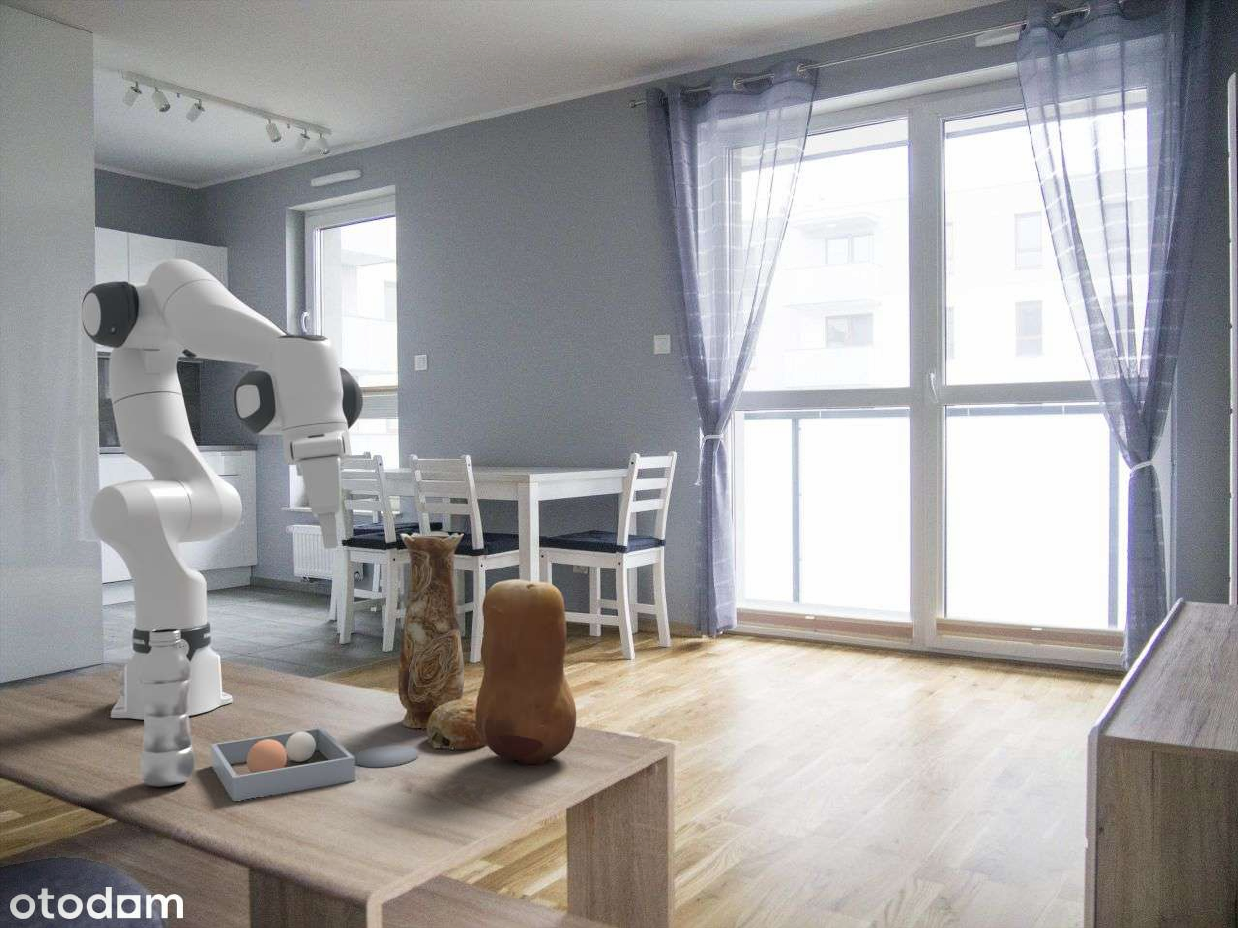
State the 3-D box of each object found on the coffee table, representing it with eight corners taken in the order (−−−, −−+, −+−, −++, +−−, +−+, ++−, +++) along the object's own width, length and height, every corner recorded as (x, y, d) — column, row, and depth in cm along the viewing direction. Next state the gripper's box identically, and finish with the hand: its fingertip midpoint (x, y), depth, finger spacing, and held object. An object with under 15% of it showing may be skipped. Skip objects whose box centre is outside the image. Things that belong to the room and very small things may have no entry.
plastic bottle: (160, 796, 124) (157, 636, 124) (129, 787, 128) (126, 632, 128) (206, 781, 130) (203, 628, 129) (174, 773, 133) (172, 624, 133)
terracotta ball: (243, 776, 131) (243, 738, 131) (282, 769, 134) (282, 732, 134) (251, 786, 127) (250, 747, 127) (291, 779, 130) (290, 741, 130)
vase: (432, 710, 164) (430, 530, 164) (480, 719, 158) (477, 532, 158) (384, 725, 156) (381, 534, 156) (432, 735, 150) (429, 537, 149)
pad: (345, 754, 140) (345, 752, 140) (406, 744, 145) (406, 742, 145) (363, 771, 133) (363, 769, 133) (427, 760, 137) (427, 758, 137)
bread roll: (420, 768, 146) (407, 725, 142) (452, 722, 154) (440, 681, 151) (480, 775, 142) (468, 731, 139) (509, 727, 151) (498, 685, 147)
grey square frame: (211, 766, 136) (210, 744, 136) (321, 748, 144) (321, 727, 144) (233, 802, 121) (233, 778, 121) (355, 780, 129) (354, 757, 129)
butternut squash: (573, 743, 144) (570, 572, 144) (580, 772, 131) (577, 584, 131) (476, 748, 143) (474, 574, 142) (474, 778, 129) (471, 587, 129)
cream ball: (283, 759, 138) (282, 731, 138) (312, 755, 140) (311, 727, 140) (289, 767, 135) (288, 738, 135) (319, 762, 137) (318, 733, 137)
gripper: (295, 457, 146) (308, 550, 145) (291, 444, 126) (305, 552, 126) (340, 452, 148) (352, 544, 147) (342, 438, 128) (356, 545, 128)
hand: (331, 548), depth 136 cm, fingers open, 8 cm apart
